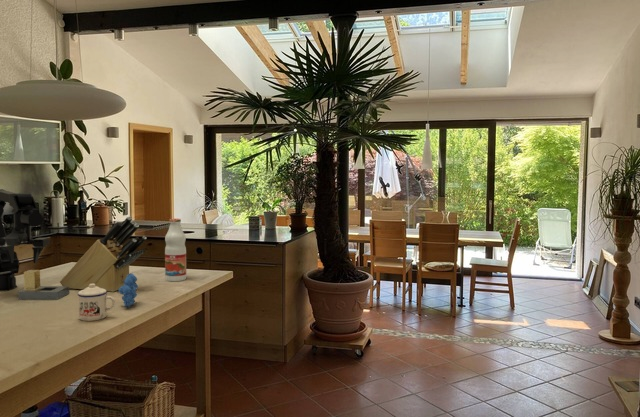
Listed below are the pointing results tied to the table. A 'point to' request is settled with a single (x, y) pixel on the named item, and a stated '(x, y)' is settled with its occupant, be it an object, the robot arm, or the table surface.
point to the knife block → (107, 259)
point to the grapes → (129, 290)
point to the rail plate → (44, 293)
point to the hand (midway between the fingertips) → (23, 263)
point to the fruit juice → (175, 252)
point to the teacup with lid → (93, 303)
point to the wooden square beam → (32, 279)
